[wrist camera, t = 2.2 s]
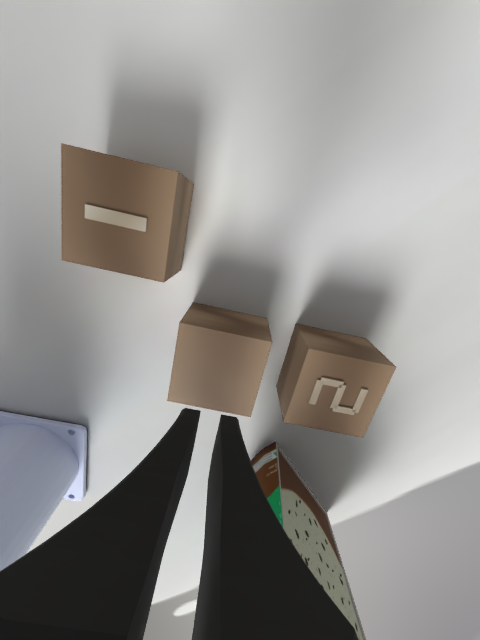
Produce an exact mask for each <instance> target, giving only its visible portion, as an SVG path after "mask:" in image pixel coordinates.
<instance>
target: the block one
mask: <svg viewBox="0 0 480 640" xmlns="http://www.w3.org/2000/svg"><path fill="white" fill-rule="evenodd" d="M61 153H62V260H63V261H68V262H73V263H77V264H82V265H86V266H91V267H96V268H100V269H105V270H109V271H114V272H118V273H123V274H128V275H132V276H137V277H141V278H146V279H151V280H155V281H160V282H165V281H167V280H168V279H169V278H171V277H172V276H173V275H175V274H176V273H178V272H179V271H180V270H181V267H182V261H183V254H184V247H185V240H186V233H187V226H188V220H189V213H190V206H191V199H192V192H193V185H194V184H193V183H192V182H190V181H189V180H188V179H187V178H185V177H184V176H183V175H182V174H180V173H179V172H177V171H173V170H169V169H165V168H161V167H157V166H153V165H149V164H144V163H140V162H136V161H132V160H128V159H124V158H120V157H116V156H111V155H107V154H103V153H99V152H95V151H91V150H87V149H83V148H79V147H74V146H70V145H66V144H62V143H61Z"/></svg>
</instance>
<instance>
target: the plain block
mask: <svg viewBox="0 0 480 640" xmlns="http://www.w3.org/2000/svg"><path fill="white" fill-rule="evenodd" d="M271 345H272V339H271V335H270V331H269V326H268V322H267V318H263V317H258V316H253V315H249V314H244V313H240V312H235V311H230V310H226V309H221V308H217V307H212V306H207V305H203V304H198V303H194V302H193V303H192V305H191V306H190V308H189V309H188V311H187V312H186V314H185V315H184V317H183V318H182V320H181V321H180V323H179V330H178V336H177V343H176V349H175V355H174V362H173V368H172V374H171V381H170V387H169V393H168V400H167V401H171V402H176V403H181V404H186V405H191V406H196V407H201V408H207V409H212V410H217V411H222V412H227V413H232V414H237V415H242V416H248V417H251V414H252V410H253V407H254V404H255V400H256V397H257V393H258V390H259V386H260V383H261V379H262V376H263V372H264V369H265V366H266V362H267V359H268V355H269V352H270V348H271Z"/></svg>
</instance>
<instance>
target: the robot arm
mask: <svg viewBox="0 0 480 640" xmlns="http://www.w3.org/2000/svg"><path fill="white" fill-rule="evenodd" d="M199 417H200V411H199V410H193V409H188V408H185V409H183V410H182V411H181V413H180V415H179V416H178V418H177V419H176V421H175V422H174V424H173V425H172V426H171V428H170V429H169V430H168V432H167V433H166V434H165V435H164V437H163V438H162V439H161V440H160V442H159V443H158V444H157V445H156V446H155V447H154V449H153V450H152V451H151V452H150V453H149V454H148V455H147V456H146V457H145V458H144V459H143V460H142V461H141V463H140V464H139V465H138V466H137V467H136V468H135V469H134V470H133V471H132V472H131V473H130V474H129V475H127V476H126V477H125V478H124V479H123V480H122V481H121V482H120V483H119V484H118V485H117V486H116V487H114V488H113V489H112V490H111V491H110V492H109V493H107V494H106V495H105V496H104V497H103V498H102V499H100V500H99V501H98V502H97V503H96V504H94V505H93V506H92V507H91V508H89V509H88V510H87V511H86V512H84V513H83V514H82V515H80V516H79V517H78V518H76V519H75V520H74V521H72V522H71V523H70V524H68V525H67V526H66V527H64V528H63V529H62V530H60V531H59V532H57V533H56V534H55V535H53V536H52V537H51V538H49V539H48V540H46V541H45V542H44V543H42V544H41V545H39V546H38V547H36V548H35V549H33V550H32V551H30V552H29V553H27V552H28V550H29V549H30V547H31V546H32V544H33V542H34V541H35V539H36V538H37V536H38V535H39V533H40V532H41V530H42V529H43V527H44V526H45V524H46V523H47V521H48V520H49V518H50V517H51V515H52V514H53V512H54V511H55V509H56V508H57V506H58V505H59V503H60V502H61V500H62V499H67V500H73V501H82V500H83V499H84V497H85V495H86V454H87V429H86V428H85V427H84V426H82V425H76V424H71V423H65V422H59V421H54V420H48V419H42V418H37V417H31V416H25V415H20V414H14V413H8V412H2V411H0V640H143V636H144V632H145V628H146V623H147V619H148V615H149V611H150V606H151V602H152V598H153V594H154V590H155V585H156V581H157V577H158V573H159V569H160V565H161V560H162V556H163V553H164V549H165V546H166V542H167V539H168V536H169V532H170V529H171V526H172V523H173V520H174V517H175V514H176V510H177V507H178V504H179V501H180V498H181V495H182V491H183V488H184V485H185V482H186V479H187V475H188V470H189V466H190V461H191V457H192V452H193V447H194V442H195V437H196V432H197V427H198V422H199ZM72 430H73V431H72ZM26 553H27V554H26ZM192 640H359V639H358V636H357V634H356V631H355V629H354V627H353V626H352V625H351V623H350V622H349V621H348V620H347V618H346V617H345V616H344V615H343V613H342V612H341V611H340V609H339V608H338V607H337V606H336V604H335V603H334V602H333V601H332V599H331V598H330V597H329V595H328V594H327V593H326V591H325V590H324V589H323V587H322V586H321V585H320V583H319V582H318V580H317V579H316V578H315V576H314V575H313V573H312V572H311V571H310V569H309V568H308V566H307V565H306V563H305V562H304V560H303V559H302V557H301V556H300V554H299V552H298V551H297V549H296V548H295V546H294V545H293V543H292V542H291V540H290V538H289V537H288V535H287V534H286V532H285V530H284V529H283V527H282V525H281V524H280V522H279V520H278V518H277V517H276V515H275V513H274V511H273V509H272V507H271V505H270V503H269V502H268V500H267V498H266V496H265V493H264V491H263V489H262V487H261V485H260V483H259V480H258V478H257V476H256V474H255V471H254V469H253V466H252V464H251V461H250V458H249V456H248V453H247V450H246V447H245V444H244V441H243V438H242V434H241V430H240V426H239V421H238V419H237V418H236V417H232V416H226V415H221V418H220V422H219V427H218V431H217V436H216V440H215V444H214V449H213V453H212V459H211V465H210V472H209V478H208V491H207V506H206V522H205V539H204V552H203V562H202V570H201V577H200V584H199V592H198V599H197V606H196V613H195V620H194V628H193V635H192Z"/></svg>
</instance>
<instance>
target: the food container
mask: <svg viewBox="0 0 480 640" xmlns="http://www.w3.org/2000/svg"><path fill="white" fill-rule="evenodd" d="M251 464H252V466H253V469H254V471H255V474H256V476H257V478H258V480H259V483H260V485H261V487H262V489H263V491H264V493H265V496H266V498H267V500H268V502H269V503H270V505H271V507H272V509H273V511H274V513H275V515H276V517H277V518H278V520H279V522H280V524H281V525H282V527H283V529H284V530H285V532H286V534H287V535H288V537H289V538H290V540H291V542H292V543H293V545H294V546H295V548H296V549H297V551H298V552H299V554H300V556H301V557H302V559H303V560H304V562H305V563H306V565H307V566H308V568H309V569H310V571H311V572H312V573H313V575H314V576H315V578H316V579H317V580H318V582H319V583H320V585H321V586H322V587H323V589H324V590H325V591H326V593H327V594H328V595H329V597H330V598H331V599H332V601H333V602H334V603H335V604H336V606H337V607H338V608H339V609H340V611H341V612H342V613H343V615H344V616H345V617H346V618H347V620H348V621H349V622H350V623H351V625H352V626H353V627H354V629H355V631H356V634H357V636H358V639H359V640H366V638H365V635H364V631H363V628H362V625H361V622H360V619H359V615H358V612H357V609H356V606H355V602H354V599H353V596H352V593H351V590H350V587H349V583H348V580H347V577H346V573H345V570H344V567H343V564H342V561H341V557H340V554H339V551H338V548H337V545H336V541H335V538H334V535H333V531H332V528H331V525H330V522H329V519H328V515H327V512H326V511H325V510H324V508H323V507H322V505H321V504H320V503H319V501H318V500H317V498H316V497H315V496H314V494H313V493H312V491H311V490H310V489H309V487H308V486H307V484H306V483H305V482H304V480H303V479H302V477H301V476H300V475H299V473H298V472H297V470H296V469H295V468H294V466H293V465H292V464H291V462H290V461H289V459H288V458H287V457H286V455H285V454H284V452H283V451H282V450H281V448H280V447H279V445H278V444H277V443H276V442H274V443H273V444H271V445H269V446H267V447H265V448H264V449H263V450H262V451H261V452H260V453H259V454H258V455H257V456H255V457H254V458H253V459H252V461H251Z"/></svg>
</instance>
